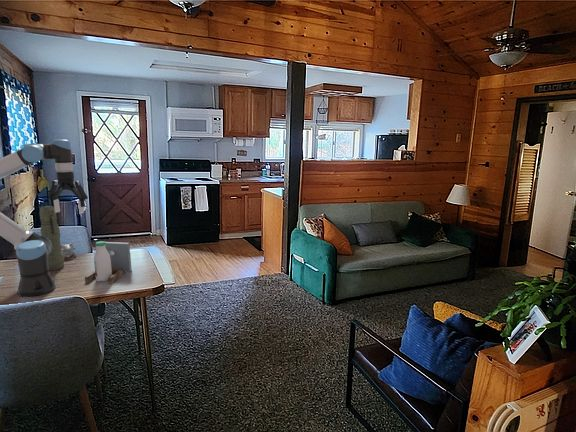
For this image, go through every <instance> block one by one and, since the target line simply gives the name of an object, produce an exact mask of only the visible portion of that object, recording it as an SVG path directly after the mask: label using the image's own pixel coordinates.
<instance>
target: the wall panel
mask: <svg viewBox="0 0 576 432" xmlns="http://www.w3.org/2000/svg"><path fill="white" fill-rule="evenodd" d="M105 243H106V246H105V247H106V250H107V251H108V253H109V255H110V259H111V268H112V269H124V271H126V272H125V273H127V272H128V273H131V272H132V270H133V269H132V257H131V247H130V246H131V245H130V242H121V241H120V242H119V241H118V242H116V241H115V242H114V241H112V242H111V241H105ZM130 271H131V272H130Z"/></svg>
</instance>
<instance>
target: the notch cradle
mask: <svg viewBox="0 0 576 432" xmlns="http://www.w3.org/2000/svg"><path fill="white" fill-rule="evenodd" d="M124 275H125V272H124V269H112V276H110V277H109V278H108V280H107V281H108V284H110V285H112V284H113V283H114V282H117V281H118V280H119V279H120V278H122V277H123V276H124ZM93 280H96V275H95V270H93V271H92V272H90V273H89V274H87V275H86V276H84V283H86V284H88V283H90V282H92V281H93Z"/></svg>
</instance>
